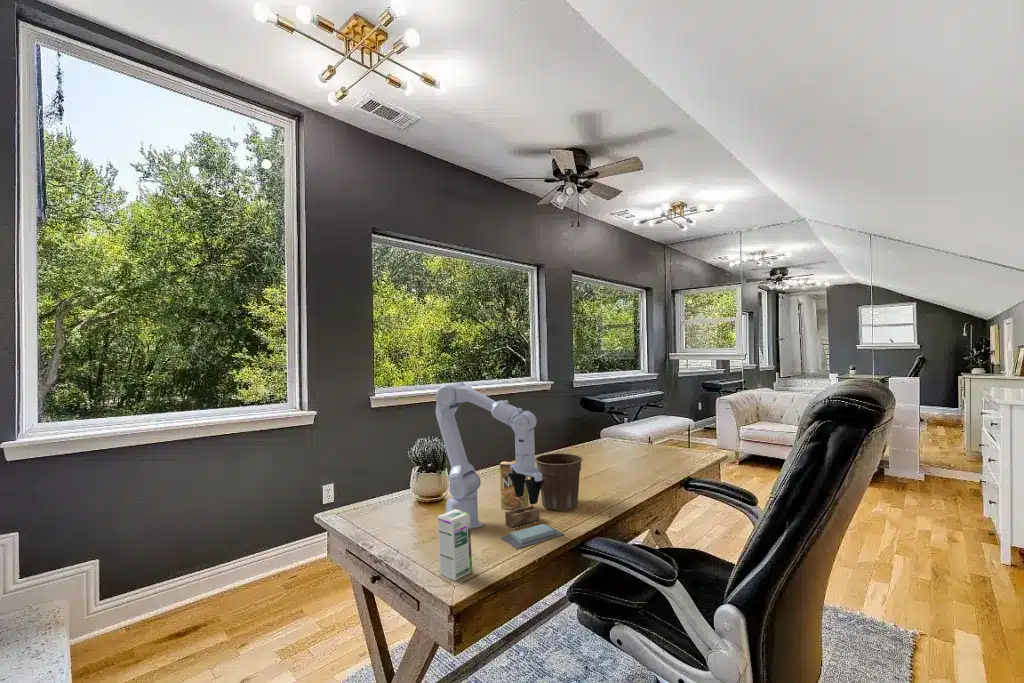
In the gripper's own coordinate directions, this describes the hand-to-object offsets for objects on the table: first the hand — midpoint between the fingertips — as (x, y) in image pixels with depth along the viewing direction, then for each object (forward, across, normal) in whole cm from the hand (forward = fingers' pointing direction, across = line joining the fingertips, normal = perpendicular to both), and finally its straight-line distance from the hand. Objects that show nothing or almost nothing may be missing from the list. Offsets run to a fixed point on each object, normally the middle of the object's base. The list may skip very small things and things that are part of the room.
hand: (526, 500), depth 133 cm
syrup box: (+10, -10, +27) cm, 30 cm away
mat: (+10, -2, 0) cm, 10 cm away
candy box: (+10, +21, -8) cm, 24 cm away
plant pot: (+10, +14, -22) cm, 28 cm away
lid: (+10, -2, 0) cm, 10 cm away
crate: (+10, +8, -3) cm, 13 cm away
